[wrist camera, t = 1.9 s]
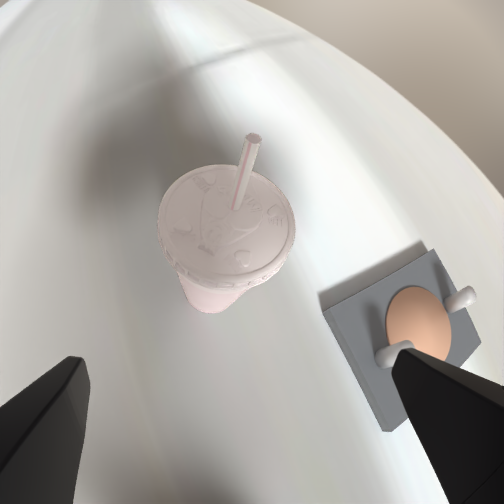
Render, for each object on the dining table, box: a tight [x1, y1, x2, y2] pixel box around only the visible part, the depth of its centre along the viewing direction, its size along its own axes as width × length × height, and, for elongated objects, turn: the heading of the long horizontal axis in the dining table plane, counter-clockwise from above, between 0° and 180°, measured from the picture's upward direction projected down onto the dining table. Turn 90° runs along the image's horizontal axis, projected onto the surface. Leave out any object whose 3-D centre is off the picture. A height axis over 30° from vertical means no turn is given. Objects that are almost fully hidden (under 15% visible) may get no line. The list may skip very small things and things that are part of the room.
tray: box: [323, 249, 481, 432], centre depth 22 cm, size 14×11×4 cm
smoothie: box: [157, 133, 295, 313], centre depth 16 cm, size 6×6×14 cm
